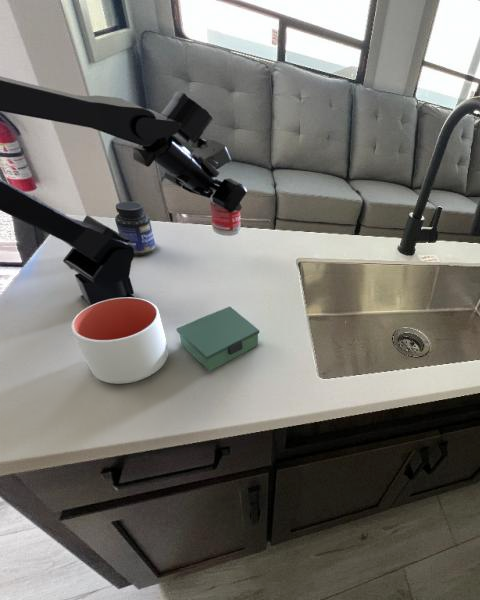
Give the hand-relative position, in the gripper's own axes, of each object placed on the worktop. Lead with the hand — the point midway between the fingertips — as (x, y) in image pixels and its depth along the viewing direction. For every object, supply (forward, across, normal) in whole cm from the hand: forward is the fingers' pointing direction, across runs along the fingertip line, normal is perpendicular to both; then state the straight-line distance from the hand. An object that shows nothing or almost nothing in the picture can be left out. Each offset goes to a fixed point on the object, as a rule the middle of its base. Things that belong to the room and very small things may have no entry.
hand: (230, 204), depth 78 cm
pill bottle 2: (+4, 0, +6) cm, 7 cm away
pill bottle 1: (-1, +13, +20) cm, 24 cm away
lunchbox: (-7, -24, +26) cm, 36 cm away
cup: (-15, -18, +34) cm, 41 cm away
